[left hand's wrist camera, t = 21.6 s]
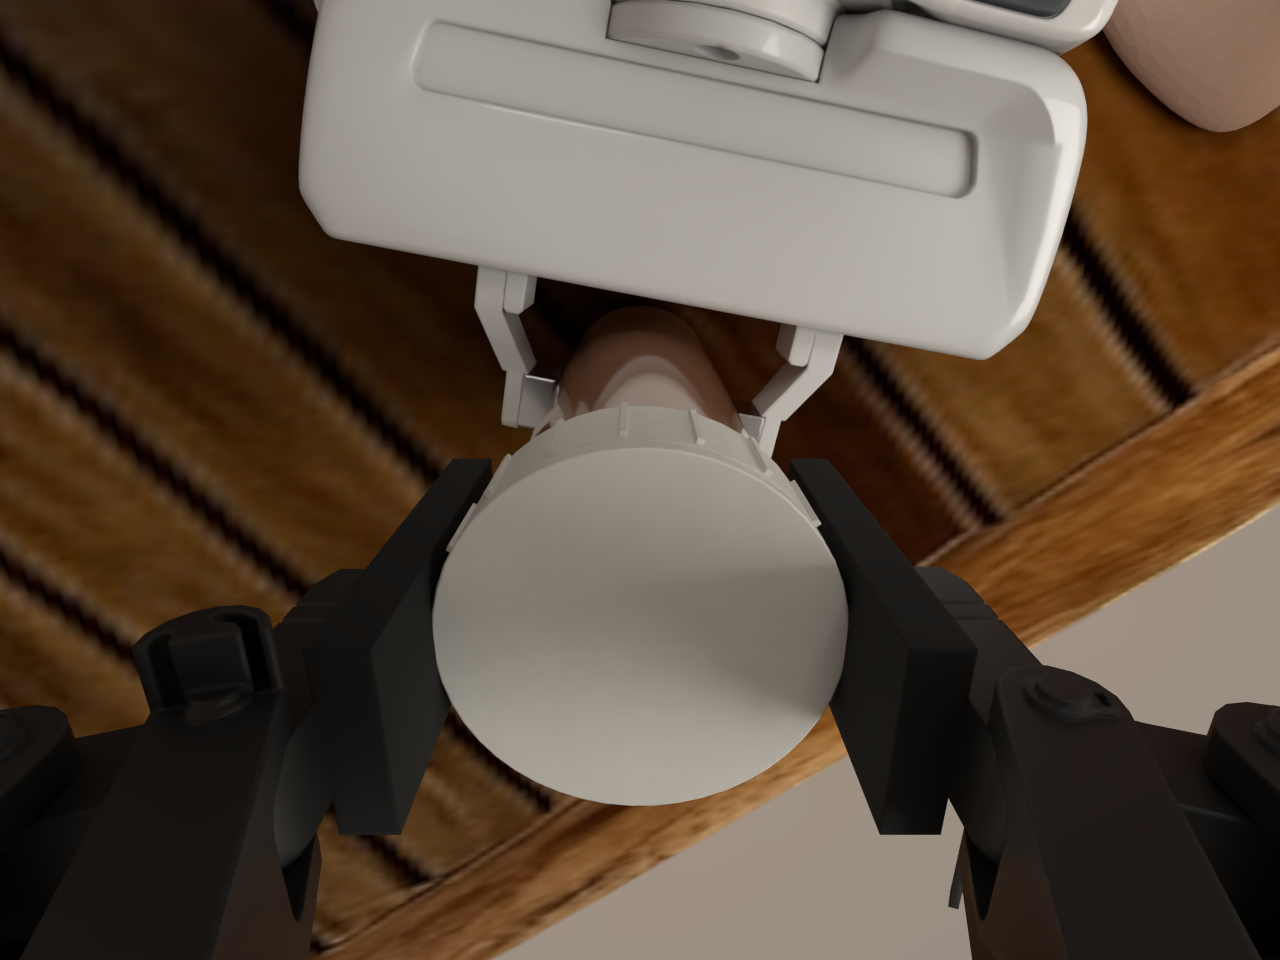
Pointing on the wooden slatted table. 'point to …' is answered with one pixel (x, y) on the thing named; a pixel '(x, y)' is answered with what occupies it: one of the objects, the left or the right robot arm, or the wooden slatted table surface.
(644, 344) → the jar
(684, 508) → the lid
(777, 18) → the right robot arm
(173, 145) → the wooden slatted table surface
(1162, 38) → the anatomical model
